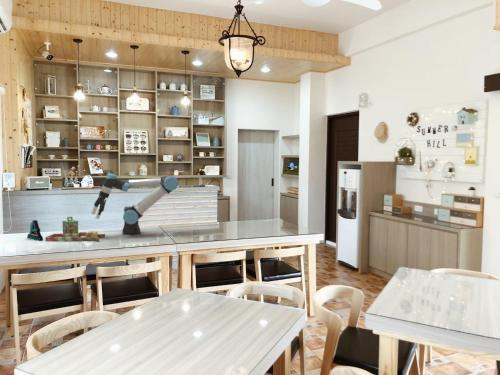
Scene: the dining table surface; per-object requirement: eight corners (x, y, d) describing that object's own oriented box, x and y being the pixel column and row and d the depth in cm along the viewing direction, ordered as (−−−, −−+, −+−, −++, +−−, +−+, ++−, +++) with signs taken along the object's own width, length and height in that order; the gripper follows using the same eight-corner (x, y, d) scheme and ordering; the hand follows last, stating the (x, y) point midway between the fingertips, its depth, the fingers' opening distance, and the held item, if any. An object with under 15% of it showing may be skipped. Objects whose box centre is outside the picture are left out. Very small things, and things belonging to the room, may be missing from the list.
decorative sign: (43, 240, 324) (42, 221, 323) (40, 241, 322) (39, 221, 321) (30, 237, 334) (29, 219, 333) (27, 238, 332) (26, 219, 331)
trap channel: (107, 236, 344) (107, 232, 344) (98, 241, 322) (98, 237, 322) (57, 235, 343) (57, 232, 343) (45, 241, 321) (45, 237, 321)
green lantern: (68, 236, 341) (67, 218, 340) (62, 234, 347) (61, 217, 346) (78, 234, 349) (78, 217, 347) (72, 233, 354) (72, 215, 353)
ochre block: (97, 238, 333) (97, 231, 332) (94, 240, 326) (94, 233, 326) (88, 238, 333) (88, 231, 332) (85, 240, 326) (85, 233, 325)
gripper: (97, 187, 345) (86, 210, 345) (104, 193, 325) (94, 219, 324) (105, 190, 350) (95, 213, 349) (113, 197, 329) (103, 221, 329)
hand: (94, 216), depth 337 cm, fingers open, 13 cm apart
